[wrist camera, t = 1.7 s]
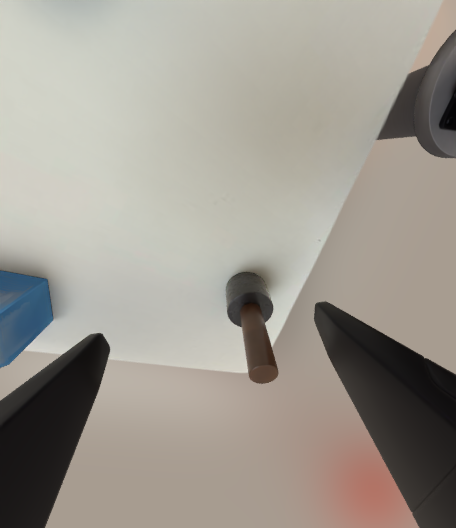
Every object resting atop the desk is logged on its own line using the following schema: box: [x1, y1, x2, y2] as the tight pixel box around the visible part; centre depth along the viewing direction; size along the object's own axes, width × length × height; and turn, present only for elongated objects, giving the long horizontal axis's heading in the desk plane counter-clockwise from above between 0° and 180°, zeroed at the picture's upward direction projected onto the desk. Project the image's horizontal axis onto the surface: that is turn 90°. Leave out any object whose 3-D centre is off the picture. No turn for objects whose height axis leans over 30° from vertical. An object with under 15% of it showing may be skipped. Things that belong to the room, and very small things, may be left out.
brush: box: [226, 272, 278, 384], centre depth 20 cm, size 5×5×11 cm
